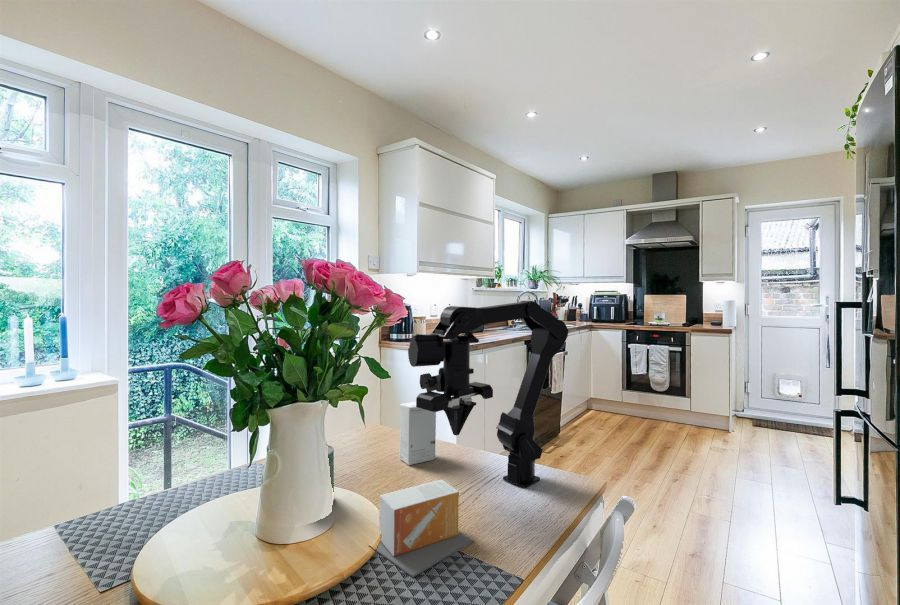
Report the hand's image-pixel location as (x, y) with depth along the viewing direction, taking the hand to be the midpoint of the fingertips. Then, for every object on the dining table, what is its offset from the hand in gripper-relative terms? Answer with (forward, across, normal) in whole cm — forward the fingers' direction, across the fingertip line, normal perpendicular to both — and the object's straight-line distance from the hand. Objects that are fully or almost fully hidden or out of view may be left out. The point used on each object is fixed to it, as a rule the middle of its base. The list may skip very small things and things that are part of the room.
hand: (456, 434), depth 95 cm
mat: (+13, +18, +9) cm, 24 cm away
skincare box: (+13, -7, -21) cm, 26 cm away
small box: (+9, +11, +9) cm, 17 cm away
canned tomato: (+13, +24, -18) cm, 33 cm away
